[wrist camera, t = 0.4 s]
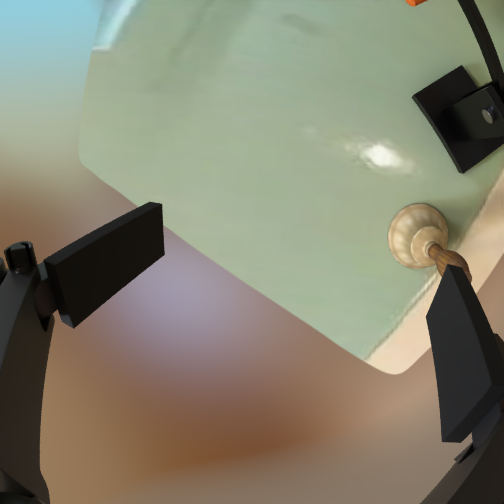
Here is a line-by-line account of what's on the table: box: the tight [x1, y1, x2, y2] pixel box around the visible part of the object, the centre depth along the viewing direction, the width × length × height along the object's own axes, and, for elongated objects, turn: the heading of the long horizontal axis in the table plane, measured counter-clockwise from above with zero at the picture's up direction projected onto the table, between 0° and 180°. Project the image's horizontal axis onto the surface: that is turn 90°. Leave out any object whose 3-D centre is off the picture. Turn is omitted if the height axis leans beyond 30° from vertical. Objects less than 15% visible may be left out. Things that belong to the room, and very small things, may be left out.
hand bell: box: [388, 203, 472, 283], centre depth 27 cm, size 8×8×16 cm
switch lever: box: [405, 0, 504, 104], centre depth 14 cm, size 14×11×2 cm
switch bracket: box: [412, 65, 504, 173], centre depth 22 cm, size 11×9×14 cm
